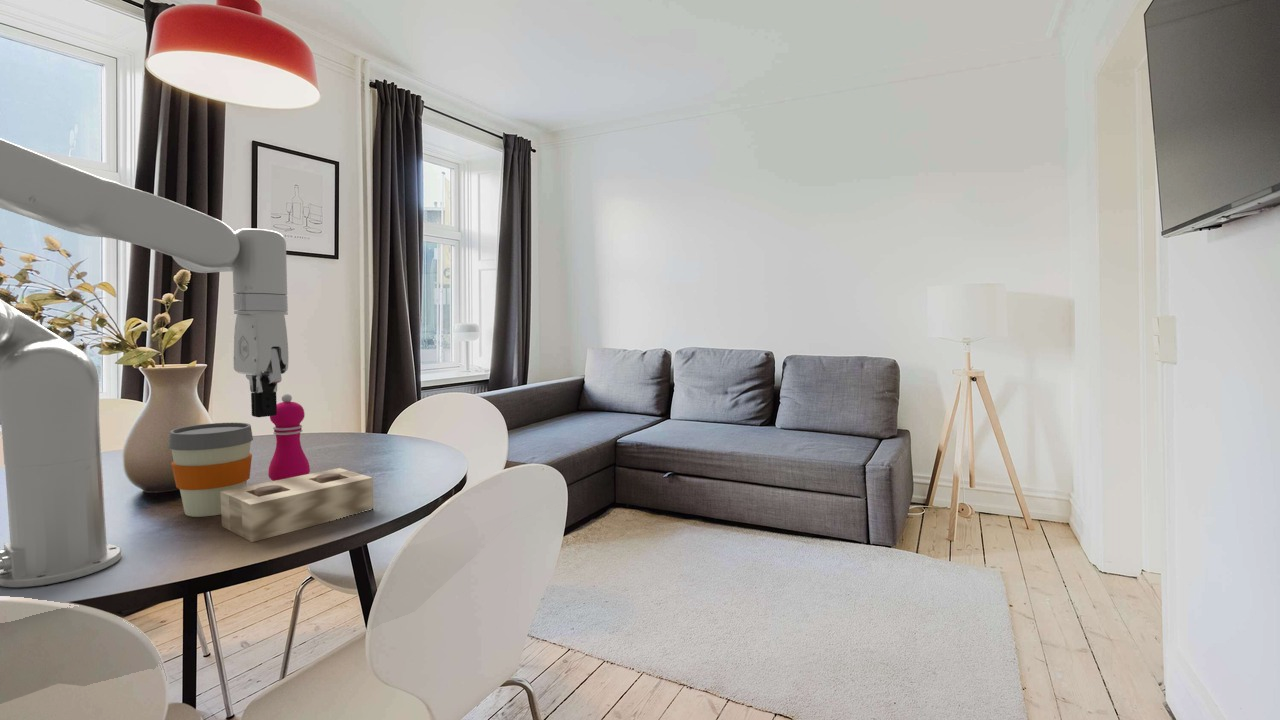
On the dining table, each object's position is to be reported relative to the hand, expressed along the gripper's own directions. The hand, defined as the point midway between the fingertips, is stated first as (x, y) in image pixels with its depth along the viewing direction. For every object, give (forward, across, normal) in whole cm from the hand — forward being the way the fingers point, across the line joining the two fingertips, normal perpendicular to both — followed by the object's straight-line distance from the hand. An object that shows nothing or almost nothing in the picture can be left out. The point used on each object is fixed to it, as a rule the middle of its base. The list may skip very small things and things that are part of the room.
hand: (264, 415), depth 100 cm
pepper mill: (+19, -18, +11) cm, 28 cm away
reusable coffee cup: (+19, -18, -2) cm, 26 cm away
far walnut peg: (+18, 0, +10) cm, 21 cm away
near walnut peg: (+18, 0, 0) cm, 19 cm away
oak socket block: (+19, 0, +5) cm, 19 cm away
